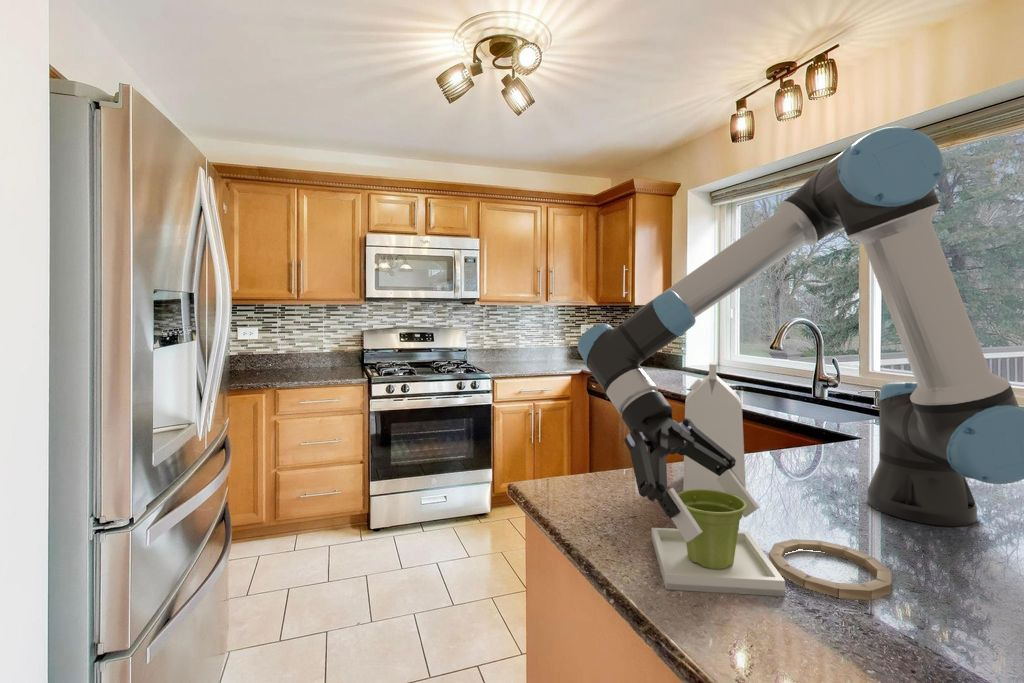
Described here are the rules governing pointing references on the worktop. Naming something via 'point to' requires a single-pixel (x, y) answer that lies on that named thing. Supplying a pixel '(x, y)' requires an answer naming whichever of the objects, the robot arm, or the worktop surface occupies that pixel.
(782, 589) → the grey tray
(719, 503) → the plant pot
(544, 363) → the worktop surface
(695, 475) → the milk
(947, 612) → the worktop surface
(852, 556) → the oak ring
